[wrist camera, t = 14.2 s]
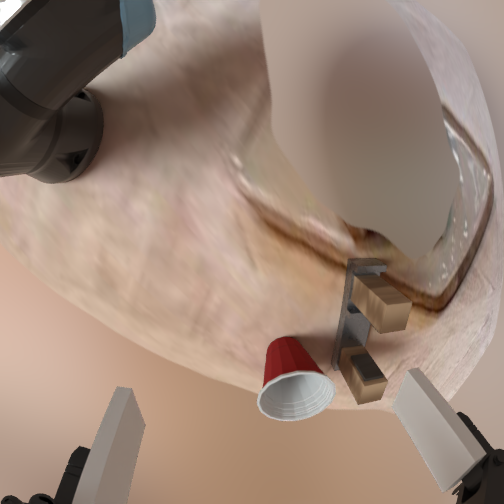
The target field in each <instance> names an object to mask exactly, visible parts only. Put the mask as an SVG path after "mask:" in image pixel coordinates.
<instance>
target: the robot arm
mask: <svg viewBox="0 0 504 504" xmlns="http://www.w3.org/2000/svg"><path fill="white" fill-rule="evenodd" d="M155 24H156V12H155V7H154V4H153V0H0V177H5V176H13V175H21V174H27V175H29V176H31V177H33V178H35V179H37V180H39V181H41V182H44V183H49V184H55V183H63V182H67V181H70V180H72V179H74V178H75V177H77V176H78V175H80V174H81V173H82V172H83V171H84V170H85V169H86V168H87V167H88V165H89V164H90V163H91V161H92V160H93V158H94V156H95V154H96V152H97V150H98V148H99V145H100V142H101V138H102V133H103V114H102V110H101V107H100V104H99V102H98V100H97V99H96V98H95V96H94V95H92V94H91V93H90V92H88V91H86V90H84V89H83V88H84V87H85V86H86V85H87V84H88V83H90V82H91V81H92V80H93V79H94V78H95V77H96V76H98V75H99V74H100V73H101V72H102V71H104V70H105V69H106V68H107V67H109V66H110V65H111V64H113V63H114V62H115V61H116V60H118V59H119V58H121V59H122V58H123V57H125V56H126V54H127V52H128V51H129V50H131V49H132V48H133V47H135V46H136V45H137V44H139V43H140V42H142V41H143V40H144V39H146V38H147V37H148V36H149V35H150V34H151V33H152V32H153V30H154V27H155ZM392 408H393V410H394V411H395V413H396V415H397V416H398V418H399V419H400V421H401V423H402V424H403V426H404V428H405V429H406V431H407V433H408V434H409V436H410V438H411V439H412V441H413V443H414V444H415V446H416V448H417V449H418V451H419V453H420V454H421V456H422V458H423V459H424V461H425V463H426V465H427V466H428V468H429V470H430V471H431V473H432V475H433V477H434V479H435V480H436V482H437V484H438V486H439V488H440V489H441V491H442V493H444V492H445V491H447V490H449V489H450V488H452V487H454V486H455V485H456V484H457V483H458V482H459V481H460V480H462V483H461V484H460V485H459V486H458V487H457V488H456V489H455V490H454V491H453V493H452V495H454V494H455V493H456V492H457V491H458V490H459V492H458V493H457V494H456V495H458V498H457V503H456V504H504V450H502V449H496V450H494V449H493V448H492V447H491V446H490V444H489V443H488V442H487V440H486V439H485V438H484V436H483V435H482V434H481V433H480V431H479V430H477V427H476V426H475V425H473V422H472V421H471V420H470V419H469V417H468V416H466V415H465V414H463V413H462V412H458V413H455V411H454V410H453V409H452V407H451V406H450V405H449V404H448V402H447V401H446V400H445V399H444V398H443V396H442V395H441V394H440V393H439V391H438V390H437V389H436V388H435V387H434V385H433V384H432V383H431V382H430V381H429V379H428V378H427V377H426V376H425V375H424V373H423V372H422V371H421V370H420V369H419V368H414V369H410V370H407V372H406V374H405V377H404V379H403V382H402V384H401V387H400V389H399V391H398V394H397V396H396V398H395V400H394V402H393V405H392ZM144 429H145V422H144V420H143V417H142V415H141V412H140V409H139V407H138V404H137V401H136V399H135V396H134V393H133V390H132V388H125V387H118V386H117V387H116V390H115V392H114V394H113V397H112V399H111V401H110V403H109V406H108V408H107V410H106V413H105V415H104V418H103V420H102V422H101V425H100V427H99V430H98V432H97V435H96V437H95V440H94V443H93V445H92V448H91V449H88V448H85V447H81V446H79V447H78V448H77V449H76V450H75V451H74V452H73V453H72V454H71V457H70V459H69V462H68V465H67V467H66V469H65V472H64V474H63V477H62V480H61V483H60V485H59V488H58V490H57V493H56V496H55V498H54V499H53V498H51V497H50V496H48V495H46V494H36V495H33V496H32V497H31V499H30V500H29V503H23V502H22V501H20V500H19V499H18V498H17V497H15V496H12V495H10V496H6V497H4V498H3V500H2V501H1V504H127V501H128V496H129V491H130V487H131V482H132V478H133V473H134V469H135V465H136V460H137V457H138V452H139V448H140V444H141V440H142V436H143V433H144Z"/></svg>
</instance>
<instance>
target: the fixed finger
mask: <svg viewBox="0 0 504 504" xmlns="http://www.w3.org/2000/svg"><path fill="white" fill-rule="evenodd" d="M338 367H339V369H340V371H341V373H342V375H343V377H344V379H345V381H346V382H347V384H348V386H349V388H350V390H351V392H352V394H353V396H354V398H355V400H356V402H357V404H358V405H360V404H364V403H369V402H373V401H377V400H381V398H382V395H383V393H384V390H385V388H386V385H387V383H388V380H387V379H386V377H385V376H384V374H383V373H382V372H381V370H380V369H379V367H378V366H377V364H376V363H375V362H374V360H373V359H372V357H371V356H370V354H369V353H368V352H367V350H366V349H365V347H364V346H363V345H361V346H354V347H346V348H342V350H341V355H340V359H339V364H338Z"/></svg>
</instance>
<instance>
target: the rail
mask: <svg viewBox="0 0 504 504" xmlns="http://www.w3.org/2000/svg"><path fill="white" fill-rule="evenodd" d="M386 268H387V265H386V264H384V263H382V262H381V261H379V260H378V259H376V258H362V259H348V264H347V272H346V280H345V288H344V295H343V301H342V308H341V314H340V320H339V326H338V331H337V337H336V342H335V347H334V352H333V357H332V362H331V365H332V367H333V369H334V371H336V370H340V369H339V367H338V364H339V359H340V355H341V350H342V348H346V347H354V346H361V345H363V346H364V347H365V344H366V340H367V336H368V332H369V328H370V322H369V321H368V320H367V319H366V318H365V316H364V315H363V314H362V313H361V312H360V310H359V309H358V308H357V307H356V305H355V304H354V303H353V302H352V301H351V295H352V289H353V282H354V276H355V275H378V276H380V272H386Z"/></svg>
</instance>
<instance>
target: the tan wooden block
mask: <svg viewBox="0 0 504 504" xmlns="http://www.w3.org/2000/svg"><path fill="white" fill-rule="evenodd" d="M351 301H352V302H353V303H354V304H355V305H356V307H357V308H358V309H359V310H360V312H361V313H362V314H363V315H364V316H365V318H366V319H367V320H368V321H369V322H370V323H371V325H372V326H373V327H374V328H375V329H376V330H377V332H378V333H380V334H382V333H388V332H394V331H400V330H405V328H406V324H407V321H408V317H409V313H410V309H411V305H412V301H410V300H409V299H408V298H407V297H405V296H404V295H403V294H402V293H400V292H399V291H398V290H396V289H395V288H394V287H393V286H391V285H390V284H389V283H387V282H386V281H385V280H384V279H382V278H381V277H380V276H378V275H355V276H354V282H353V289H352V295H351Z"/></svg>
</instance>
